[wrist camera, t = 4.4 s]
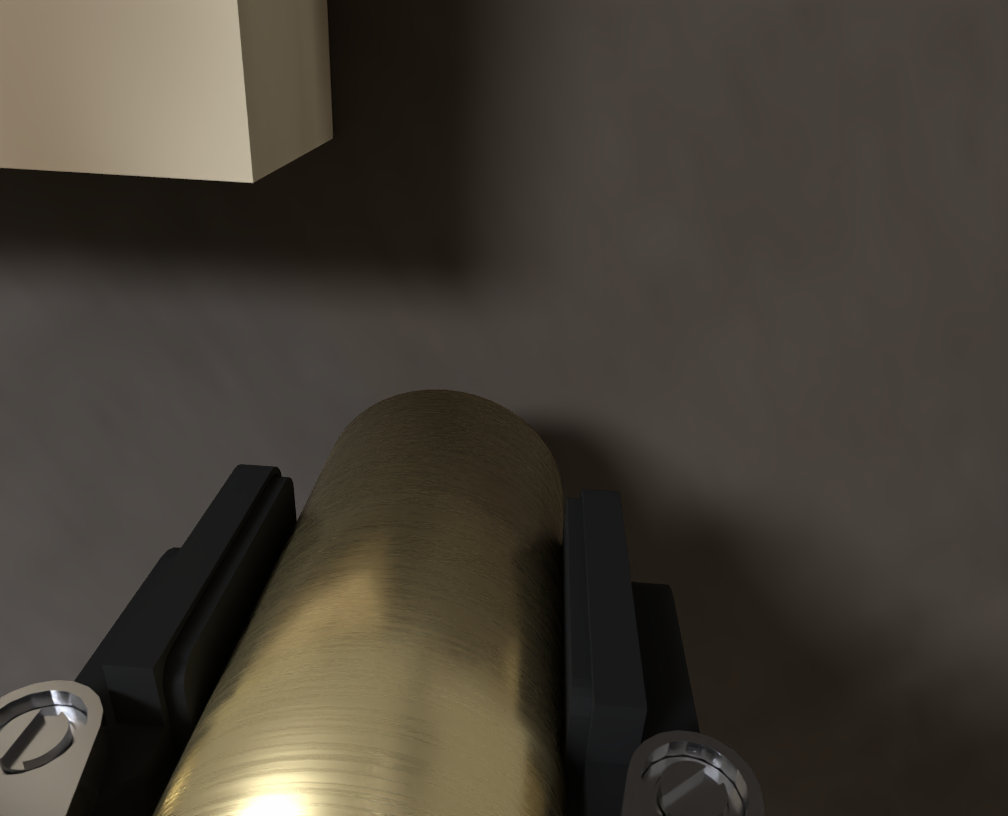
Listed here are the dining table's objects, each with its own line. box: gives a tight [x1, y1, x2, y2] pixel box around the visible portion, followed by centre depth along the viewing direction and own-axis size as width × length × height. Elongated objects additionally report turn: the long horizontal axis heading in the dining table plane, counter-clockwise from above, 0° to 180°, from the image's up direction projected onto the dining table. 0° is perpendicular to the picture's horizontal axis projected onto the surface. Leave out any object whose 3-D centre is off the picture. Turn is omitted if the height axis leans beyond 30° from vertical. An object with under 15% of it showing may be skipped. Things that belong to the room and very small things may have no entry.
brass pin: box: [152, 390, 567, 816], centre depth 10 cm, size 4×4×8 cm
